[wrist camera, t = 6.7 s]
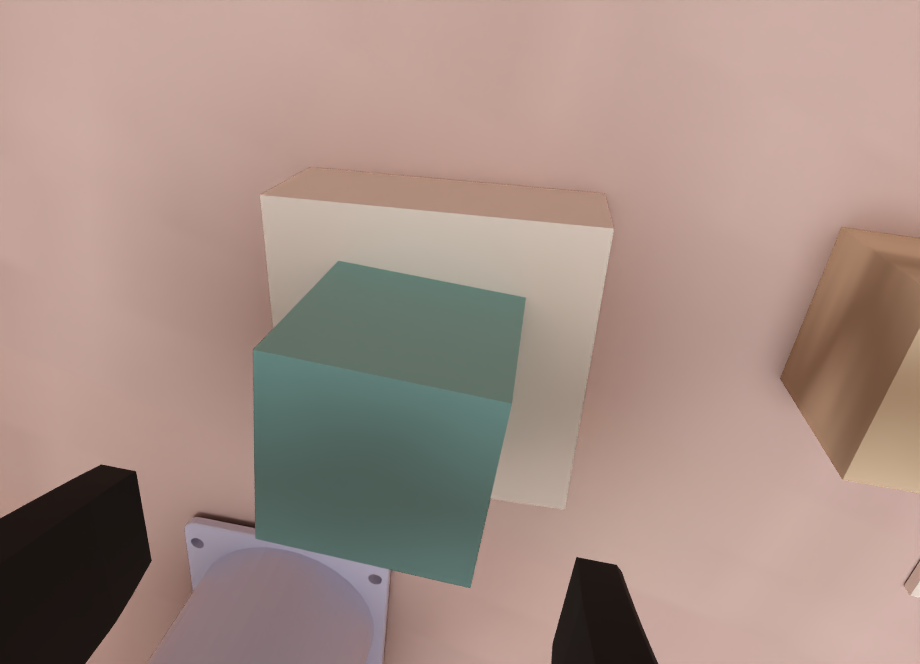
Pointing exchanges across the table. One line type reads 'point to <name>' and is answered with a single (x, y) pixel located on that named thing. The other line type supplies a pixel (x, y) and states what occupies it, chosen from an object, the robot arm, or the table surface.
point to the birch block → (864, 360)
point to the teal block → (384, 419)
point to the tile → (914, 582)
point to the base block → (467, 283)
